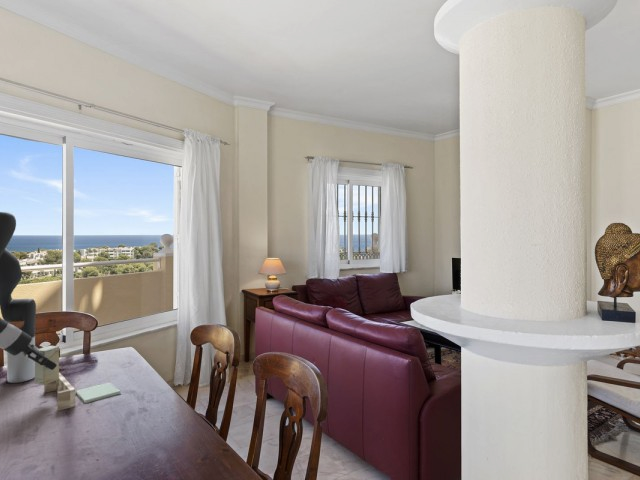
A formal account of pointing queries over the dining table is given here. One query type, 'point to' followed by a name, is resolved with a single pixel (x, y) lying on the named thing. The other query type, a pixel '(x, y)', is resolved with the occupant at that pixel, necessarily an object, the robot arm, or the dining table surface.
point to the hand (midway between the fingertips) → (52, 364)
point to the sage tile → (97, 392)
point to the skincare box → (44, 373)
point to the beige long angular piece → (62, 392)
